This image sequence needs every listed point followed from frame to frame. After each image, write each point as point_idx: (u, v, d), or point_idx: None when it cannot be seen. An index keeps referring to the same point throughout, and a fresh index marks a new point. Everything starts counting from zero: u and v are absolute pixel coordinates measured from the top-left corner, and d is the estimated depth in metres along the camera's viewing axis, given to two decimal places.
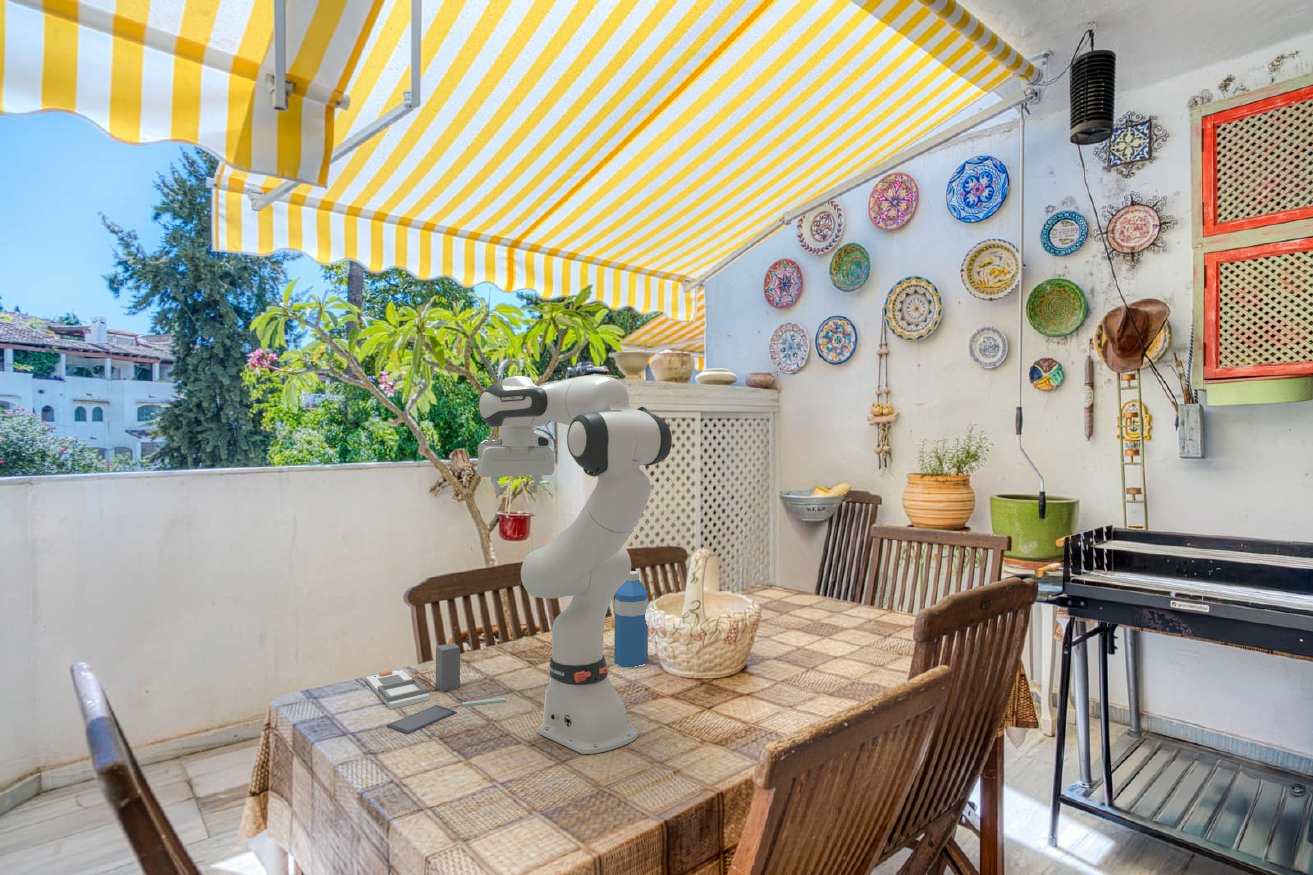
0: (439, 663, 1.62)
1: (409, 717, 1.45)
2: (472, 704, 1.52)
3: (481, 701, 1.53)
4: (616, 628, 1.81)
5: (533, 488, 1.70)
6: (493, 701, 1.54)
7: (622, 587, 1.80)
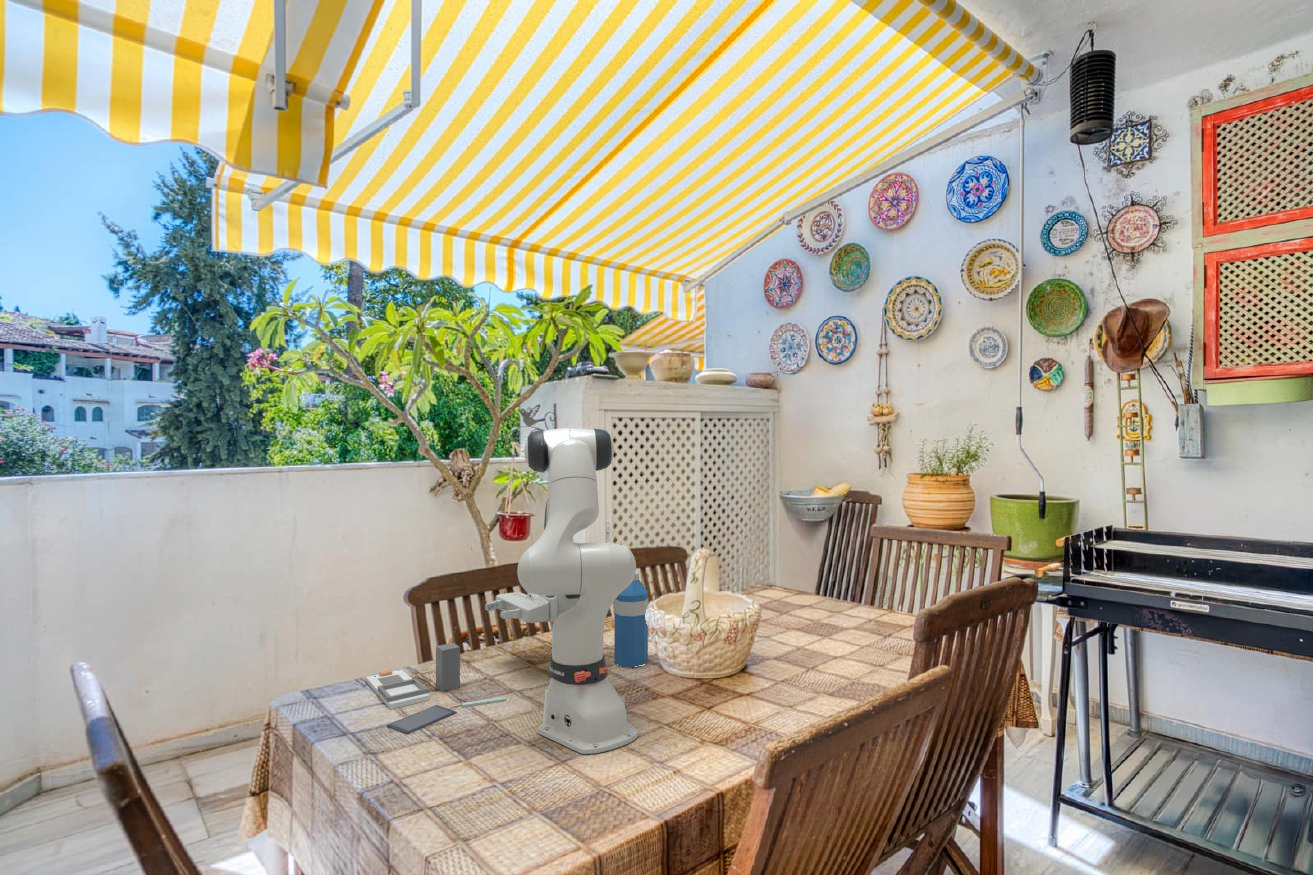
0: (439, 663, 1.62)
1: (409, 717, 1.45)
2: (472, 704, 1.52)
3: (481, 701, 1.53)
4: (616, 628, 1.81)
5: (505, 610, 1.69)
6: (493, 701, 1.54)
7: None
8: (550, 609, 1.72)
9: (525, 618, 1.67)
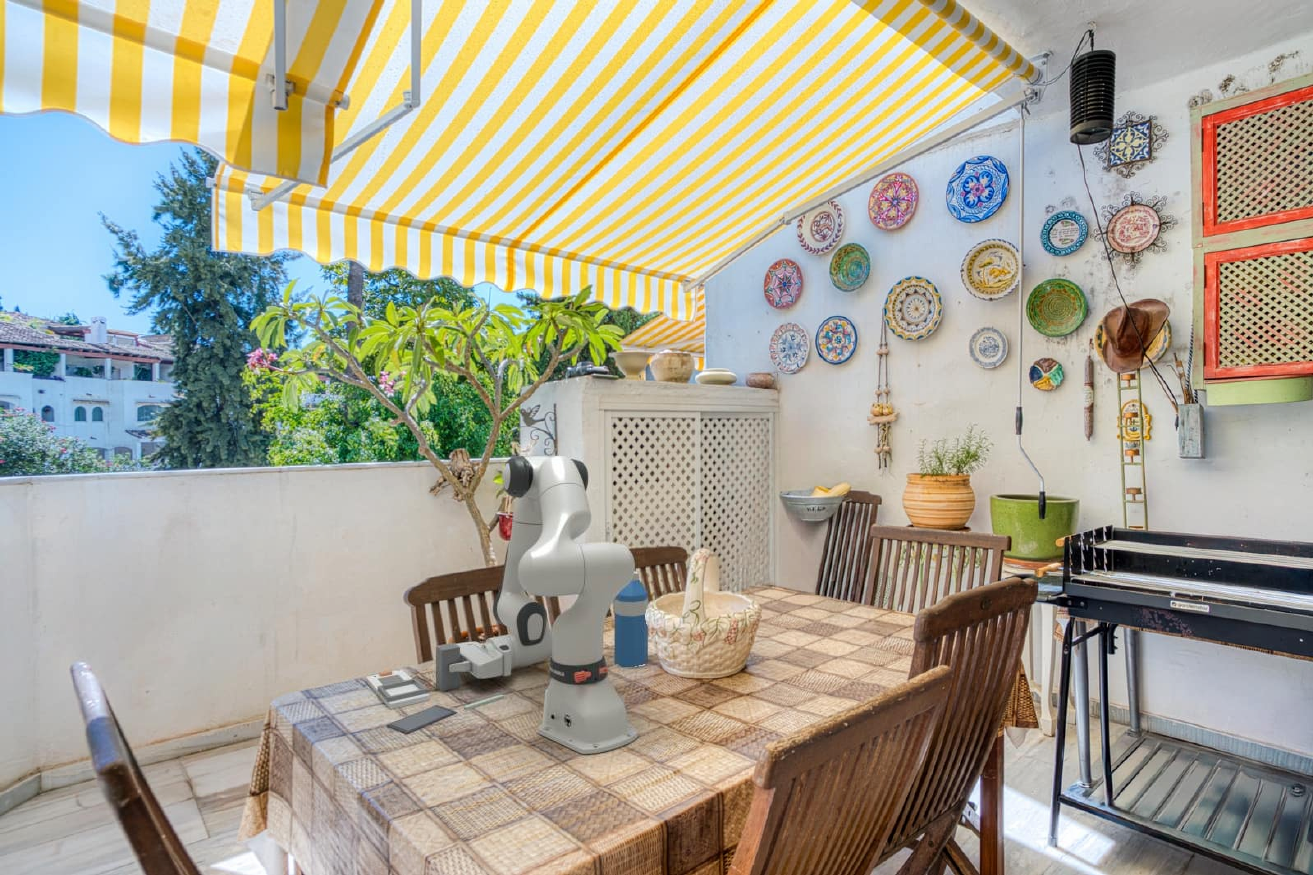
0: (439, 663, 1.62)
1: (409, 717, 1.45)
2: (475, 706, 1.51)
3: (482, 701, 1.53)
4: (616, 628, 1.81)
5: (453, 663, 1.62)
6: (493, 699, 1.55)
7: None
8: (504, 663, 1.64)
9: (476, 673, 1.59)
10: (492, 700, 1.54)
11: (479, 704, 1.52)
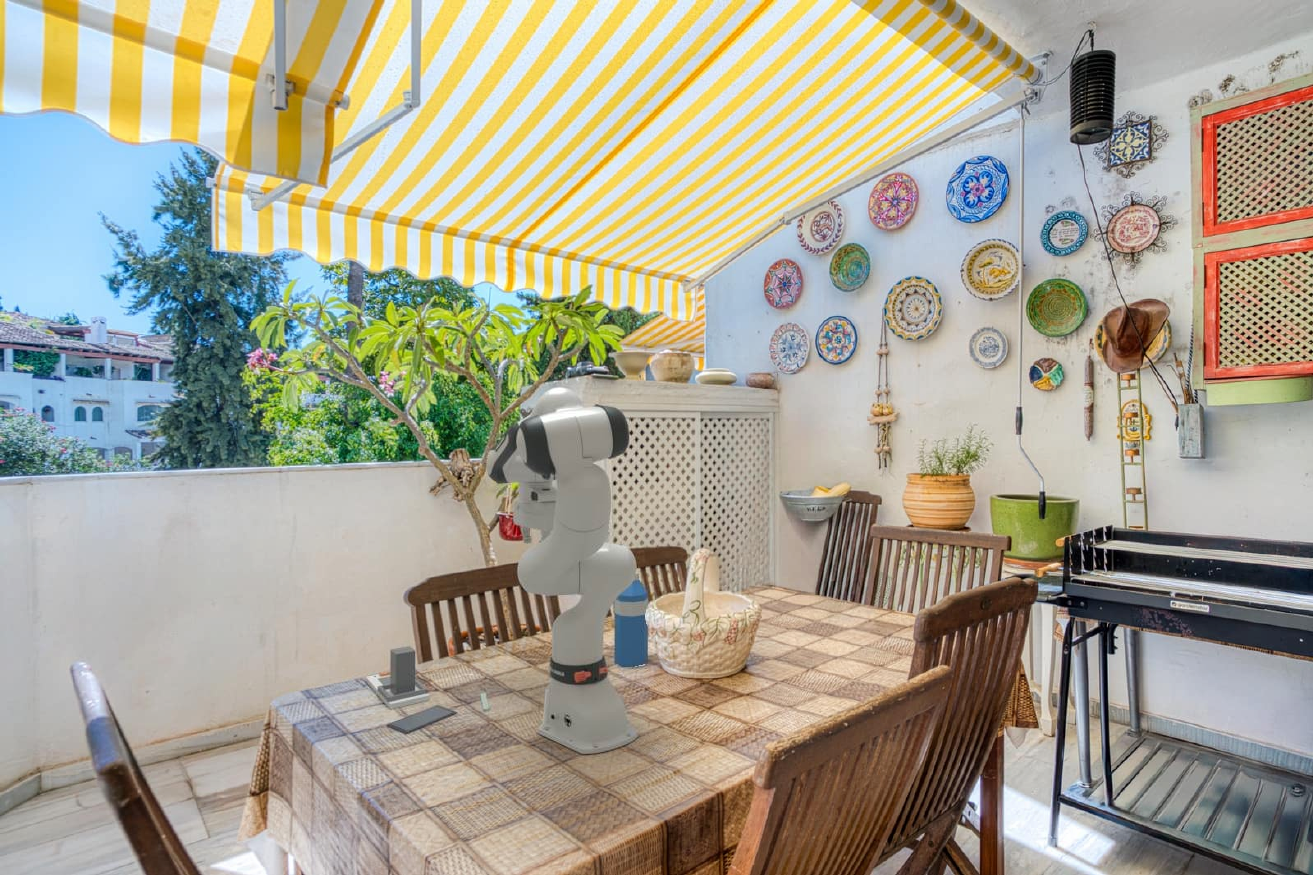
0: (393, 667, 1.56)
1: (409, 717, 1.45)
2: None
3: (485, 701, 1.53)
4: (616, 628, 1.81)
5: (539, 542, 1.68)
6: (486, 698, 1.56)
7: None
8: (549, 501, 1.66)
9: None
10: (486, 698, 1.55)
11: None
